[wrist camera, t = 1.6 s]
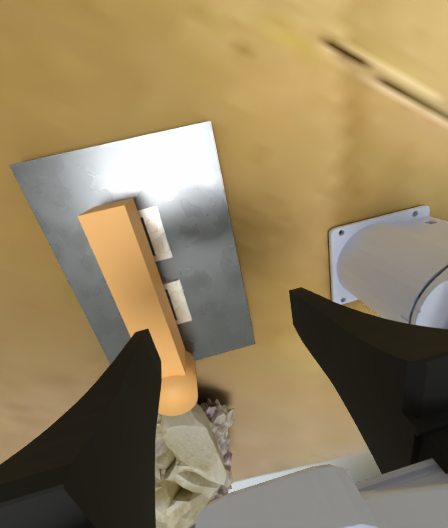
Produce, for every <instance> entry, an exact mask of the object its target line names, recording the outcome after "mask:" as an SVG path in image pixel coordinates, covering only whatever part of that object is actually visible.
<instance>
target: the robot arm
mask: <svg viewBox="0 0 448 528" xmlns="http://www.w3.org/2000/svg"><path fill="white" fill-rule="evenodd" d="M413 212H414V214H413ZM412 214H413V215H412ZM429 215H430V207H429V206H426V205H422V206H418V207H414V208H410V209H406V210H402V211H398V212H394V213H390V214H386V215H382V216H379V217H375V218H371V219H367V220H363V221H359V222H355V223H351V224H347V225H343V226H339V227H335V228H332V229H331V230H330V232H329V251H330V273H331V295H332V301H331V300H329V299H326V298H324V297H322V296H320V295H317V294H315V293H313V292H311V291H308V290H306V289H304V288H297V289H293V290H289V294H290V302H291V310H292V318H293V325H294V327H295V329H296V331H297V333H298V334H299V336H300V338H301V340H302V342H303V343H304V344H305V346H306V347H307V349H308V350H309V351H310V353H311V354H312V356H313V357H314V358H315V360H316V361H317V363H318V364H319V365H320V367H321V368H322V369H323V371H324V372H325V374H326V375H327V376H328V378H329V379H330V381H331V382H332V384H333V385H334V387H335V388H336V390H337V392H338V394H339V395H340V397H341V399H342V401H343V402H344V404H345V406H346V407H347V409H348V411H349V413H350V415H351V416H352V418H353V420H354V422H355V424H356V425H357V427H358V429H359V431H360V433H361V435H362V437H363V439H364V440H365V442H366V444H367V446H368V448H369V450H370V452H371V454H372V455H373V457H374V459H375V461H376V463H377V465H378V467H379V469H380V471H381V473H382V475H379V476H376V477H372V478H370V479H366V480H363V481H360V482H357V483H354V481H353V479H352V478H351V476H350V474H349V472H348V470H346V469H343V468H340V467H337V466H333V465H330V464H328V465H322V466H315V467H310V468H307V469H304V470H301V471H298V472H294V473H291V474H288V475H285V476H282V477H279V478H276V479H273V480H269V481H266V482H263V483H260V484H257V485H254V486H250V487H247V488H244V489H241V490H238V491H235V492H232V493H229V494H226V495H224V496H222V497H220V498H218V499H216V500H214V501H212V502H210V503H209V504H208V505H207V506H206V507H205V508H204V509H203V510H202V511H201V513H200V514H199V515H198V516H197V518H196V527H195V528H448V221H446V220H442V219H438V218H433V217H429ZM341 230H342V233H341V234H339V232H340V231H341ZM342 298H343V299H342ZM341 299H342V300H341ZM356 300H360V301H361V302H363V303H364V304H365V305H366V306H368V307H369V308H370V309H371V310H373V311H374V312H375V313H377V314H378V315H379V316H380V317H382V318H380V317H377V316H373V315H370V314H366V313H363V312H360V311H357V310H354V309H351V308H348V307H346V306H343V305H342V304H345V303H349V302H352V301H356ZM161 382H162V369H161V359H160V357H159V354H158V352H157V349H156V347H155V344H154V342H153V339H152V337H151V334H150V332H149V329H144V330H141V331H137V332H135V333H134V334H133V336H132V337H131V338H130V340H129V341H128V342H127V344H126V345H125V346H124V348H123V349H122V351H121V352H120V353H119V354H118V356H117V357H116V358H115V360H114V361H113V362H112V364H111V365H110V366H109V367H108V369H107V370H106V371H105V372H104V373H103V375H102V376H101V377H100V378H99V379H98V381H97V382H96V383H95V384H94V385H93V386H92V387H91V388H90V389H89V390H88V392H87V393H86V394H85V395H84V396H83V397H82V398H81V399H80V400H79V401H78V402H77V403H76V404H75V405H74V406H72V407H71V408H70V409H69V410H68V411H67V412H66V413H65V414H64V415H63V416H61V417H60V418H59V419H58V420H57V421H56V422H55V423H54V424H53V425H51V426H50V427H49V428H48V429H47V430H45V431H44V432H43V433H42V434H41V435H39V436H38V437H37V438H35V439H34V440H33V441H32V442H30V443H29V444H28V445H27V446H25V447H24V448H23V449H21V450H20V451H19V452H17V453H16V454H14V455H13V456H12V457H10V458H9V459H7V460H6V461H5V462H3V463H2V464H0V528H156V513H155V439H156V427H157V418H158V409H159V401H160V392H161Z"/></svg>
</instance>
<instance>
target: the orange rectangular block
mask: <svg viewBox="0 0 448 528" xmlns="http://www.w3.org/2000/svg"><path fill="white" fill-rule="evenodd" d="M78 219H79V221H80V223H81V225H82V228H83V230H84V232H85V235H86V237H87V239H88V241H89V244H90V246H91V248H92V250H93V253H94V255H95V257H96V259H97V262H98V264H99V266H100V269H101V271H102V273H103V275H104V278H105V280H106V282H107V284H108V287H109V289H110V291H111V293H112V296H113V298H114V300H115V303H116V305H117V307H118V309H119V312H120V314H121V316H122V318H123V321H124V323H125V325H126V327H127V330H128V332H129V334H130V336H131V337H132V336H133V334H134V333H135V332H137V331H141V330H144V329H149V332H150V334H151V337H152V339H153V342H154V344H155V347H156V349H157V352H158V354H159V357H160V359H161V369H162V382H161V392H160V401H159V409H158V413H159V414H161V415H165V416H177V415H181V414H184V413H186V412H188V411H189V410H191V409H192V408H193V407H194V406H195V404H196V402H197V400H198V390H197V377H196V364H195V359H194V357H193V356H192V354H190V353H189V352H188V351H186V350H185V347H184V344H183V341H182V339H181V336H180V333H179V330H178V327H177V324H176V321H175V318H174V315H173V312H172V309H171V307H170V304H169V301H168V298H167V295H166V292H165V289H164V286H163V283H162V280H161V277H160V274H159V272H158V269H157V266H156V263H155V260H154V257H153V254H152V251H151V248H150V245H149V242H148V240H147V237H146V234H145V231H144V228H143V225H142V222H141V219H140V216H139V213H138V210H137V207H136V205H135V202H134V199H133V198H130V199H125V200H121V201H117V202H113V203H108V204H104V205H100V206H96V207H93V208H91V209H89V210H87V211H86V212H84V213H82V214H80V215H79V216H78Z"/></svg>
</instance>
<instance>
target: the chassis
mask: <svg viewBox="0 0 448 528" xmlns="http://www.w3.org/2000/svg"><path fill="white" fill-rule="evenodd" d="M10 167H11V169H12V171H13V173H14V175H15V177H16V179H17V181H18V183H19V185H20V187H21V189H22V191H23V193H24V195H25V197H26V199H27V201H28V203H29V205H30V207H31V209H32V211H33V213H34V215H35V217H36V219H37V221H38V223H39V225H40V226H41V228H42V230H43V232H44V234H45V236H46V238H47V240H48V242H49V244H50V246H51V248H52V250H53V252H54V254H55V256H56V258H57V260H58V262H59V264H60V266H61V268H62V270H63V272H64V274H65V276H66V278H67V280H68V282H69V284H70V286H71V288H72V289H73V291H74V293H75V295H76V297H77V299H78V301H79V303H80V305H81V307H82V309H83V311H84V313H85V315H86V317H87V319H88V321H89V323H90V325H91V327H92V329H93V331H94V333H95V335H96V337H97V339H98V341H99V343H100V345H101V347H102V349H103V350H104V352H105V354H106V356H107V358H108V360H109V362H110V364H112V362H113V361H114V360H115V358H116V357H117V356H118V354H119V353H120V352H121V351H122V349H123V348H124V346H125V345H126V344H127V342H128V341H129V340H130V338H131V336H130V334H129V332H128V330H127V327H126V325H125V323H124V321H123V318H122V316H121V314H120V312H119V309H118V307H117V305H116V303H115V300H114V298H113V296H112V293H111V291H110V289H109V287H108V284H107V282H106V280H105V278H104V275H103V273H102V271H101V269H100V266H99V264H98V262H97V259H96V257H95V255H94V253H93V250H92V248H91V246H90V244H89V241H88V239H87V237H86V235H85V232H84V230H83V228H82V225H81V223H80V221H79V219H78V216H79V215H80V214H82V213H84V212H86V211H87V210H89V209H91V208H93V207H96V206H100V205H104V204H108V203H113V202H117V201H121V200H125V199H130V198H133V199H134V202H135V205H136V207H137V210H138V213H139V216H140V219H141V222H142V225H143V228H144V231H145V234H146V237H147V240H148V242H149V245H150V248H151V251H152V254H153V257H154V260H155V263H156V266H157V269H158V272H159V274H160V277H161V280H162V283H163V286H164V289H165V292H166V295H167V298H168V301H169V304H170V307H171V309H172V312H173V315H174V318H175V321H176V324H177V327H178V330H179V333H180V336H181V339H182V341H183V344H184V347H185V350H186V351H188V352H189V353H190V354H192V356H193V357H194V359H195V361H196V360H199V359H203V358H206V357H210V356H213V355H217V354H221V353H224V352H228V351H231V350H235V349H239V348H242V347H246V346H249V345H253V344H255V340H254V335H253V330H252V325H251V320H250V315H249V310H248V305H247V300H246V295H245V290H244V285H243V280H242V275H241V270H240V265H239V260H238V255H237V250H236V245H235V240H234V235H233V230H232V225H231V220H230V215H229V210H228V205H227V200H226V195H225V190H224V185H223V180H222V175H221V170H220V165H219V160H218V155H217V150H216V145H215V141H214V136H213V131H212V126H211V121H208V122H203V123H199V124H194V125H190V126H185V127H180V128H176V129H171V130H167V131H162V132H158V133H153V134H148V135H144V136H139V137H135V138H130V139H126V140H121V141H116V142H112V143H107V144H103V145H98V146H94V147H89V148H85V149H80V150H75V151H71V152H66V153H62V154H57V155H53V156H48V157H43V158H39V159H34V160H30V161H25V162H21V163H16V164H11V165H10Z"/></svg>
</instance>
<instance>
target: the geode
mask: <svg viewBox="0 0 448 528" xmlns="http://www.w3.org/2000/svg"><path fill="white" fill-rule="evenodd" d="M233 409H234V408H233ZM233 409H230V410H228V408H227V406H226V404H225V405H221V404H220V402H219V401H218V399H216V401H215V402H214V403H212V401H211V400H210V398H208V400H207V403H202V404H199V403H196V404H195V406H194V407H193V408H192V409H191V410H189V411H188V412H186V413H184V414H181V415H177V416H165V415H161V414H159V413H158V418H157V427H156V439H155V513H156V528H195V527H196V518H197V516H198V515H199V514H200V513H201V511H202V510H203V509H204V508H205V507H206V506H207V505H208V504H209V503H210V502H212V501H214V500H216V499H218V498H220V497H222V496H224V495H226V494H228V490H229V489H232V487H231V484H232V483H233V481H232V473H231V459H232V454H231V452H230V451H229V450H228V448H229V443H230V439H227V435H228V428H229V427H230V426H232V425H233V421H234V419H233V417H232V412H233Z"/></svg>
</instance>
